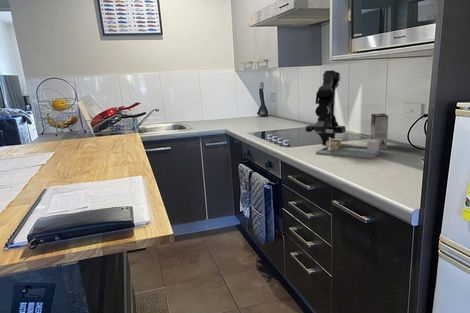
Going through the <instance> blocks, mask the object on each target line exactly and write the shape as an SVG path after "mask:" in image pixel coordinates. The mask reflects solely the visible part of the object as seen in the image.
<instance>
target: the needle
mask: <svg viewBox="0 0 470 313" xmlns="http://www.w3.org/2000/svg"><path fill="white" fill-rule="evenodd" d="M328 150H329V151H331V150H332V147H331V137H329V148H328Z"/></svg>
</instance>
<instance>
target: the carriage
mask: <svg viewBox="0 0 470 313" xmlns="http://www.w3.org/2000/svg"><path fill="white" fill-rule="evenodd" d="M341 145H342V139H341V138H335V139H331V147H332V150H337V149H339V148H341ZM325 147H326V150H328V148H329V140H328V141H326V146H325Z"/></svg>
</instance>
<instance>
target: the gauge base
mask: <svg viewBox="0 0 470 313" xmlns="http://www.w3.org/2000/svg"><path fill="white" fill-rule="evenodd" d="M381 153H382V149H379V140H376V139H372V140H371V139H370V140H368V141H367V146H358V145H357V146H356V145H344V144H343V145H342V144H341V148H339V149H337V150H331V151H329V150H326V146H324V147H323V148H321V149H319V150H317V151H316V152H315V154H316V155H322V156H333V157H346V158H353V159H354V158H355V159H356V158H357V159H365V160H368V159H369V160H373V159H374V158H376V157H377V156H379V154H381Z"/></svg>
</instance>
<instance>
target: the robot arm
mask: <svg viewBox="0 0 470 313" xmlns="http://www.w3.org/2000/svg"><path fill="white" fill-rule="evenodd" d="M322 81H323V82H322V85H321V86H320V87H319V88H318V89H317V91H316V97H315V105H318V106H317V107H315V112H314V113H315V115H316V116H317V121H316V123H315V124H309V125H306V126H305V132H306V133H307V132H309V133H311V132H313V131H314V133H316V134H317V135H318V136H319V137H320V139H321V141H322V143H321V145H323V147H326V141H328V140H329V137H331V139H336V134H343V133H345V132H346V126H345V125H339V123H338V121H337V117H336V116H335V102H336V101H335V98H336V89H337V88H338V87H339V85H340V84H339V82H341V74H340V72H337V71H336V70H325V71H324V73H323V74H322Z"/></svg>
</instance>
